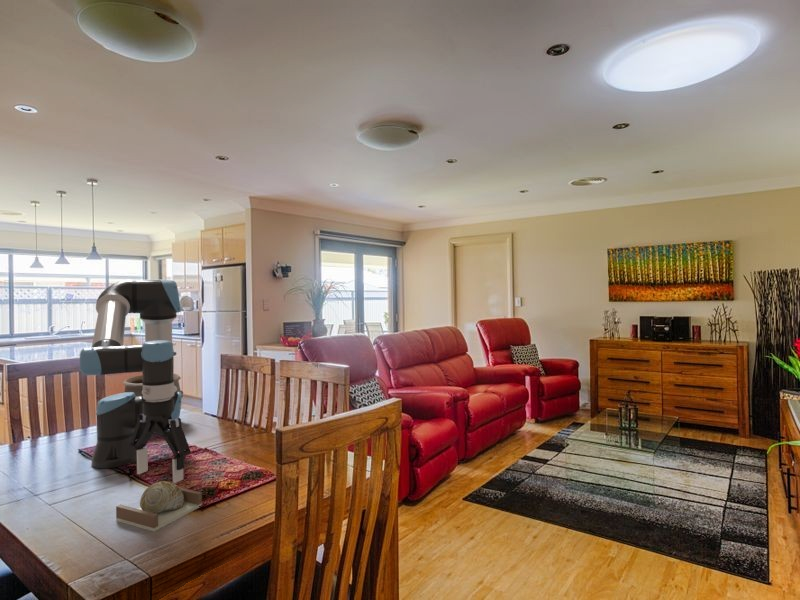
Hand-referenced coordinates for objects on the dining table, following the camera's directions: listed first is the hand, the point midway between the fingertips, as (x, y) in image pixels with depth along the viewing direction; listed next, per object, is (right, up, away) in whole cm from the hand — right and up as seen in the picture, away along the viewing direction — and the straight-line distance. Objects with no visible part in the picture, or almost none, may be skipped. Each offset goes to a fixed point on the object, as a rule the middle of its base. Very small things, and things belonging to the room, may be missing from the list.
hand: (159, 476), depth 125 cm
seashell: (+1, -9, 0) cm, 9 cm away
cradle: (0, -10, 0) cm, 10 cm away
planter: (-46, -9, +83) cm, 96 cm away
